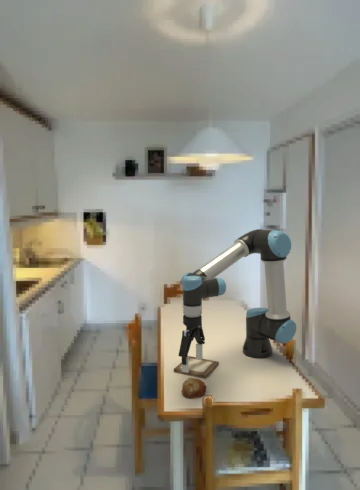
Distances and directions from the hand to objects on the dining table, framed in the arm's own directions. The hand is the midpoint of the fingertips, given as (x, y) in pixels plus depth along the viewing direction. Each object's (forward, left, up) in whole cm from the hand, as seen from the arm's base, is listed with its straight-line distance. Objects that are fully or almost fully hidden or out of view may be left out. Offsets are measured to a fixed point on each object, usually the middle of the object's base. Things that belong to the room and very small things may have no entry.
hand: (192, 365), depth 154 cm
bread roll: (0, 0, -12) cm, 12 cm away
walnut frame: (+8, -21, -12) cm, 26 cm away
